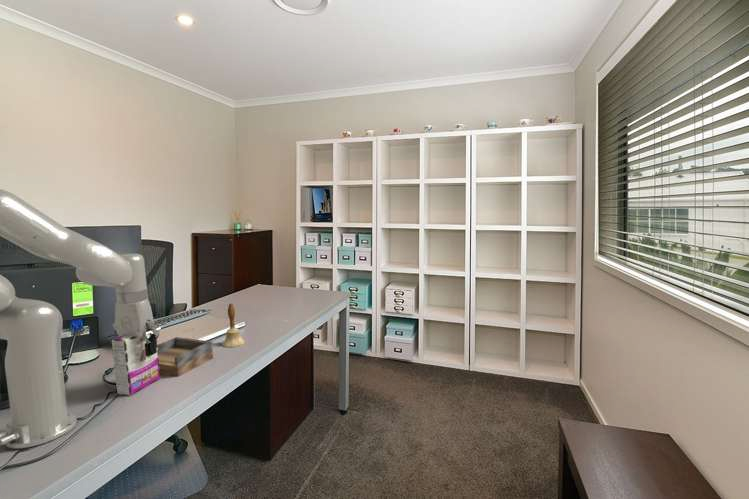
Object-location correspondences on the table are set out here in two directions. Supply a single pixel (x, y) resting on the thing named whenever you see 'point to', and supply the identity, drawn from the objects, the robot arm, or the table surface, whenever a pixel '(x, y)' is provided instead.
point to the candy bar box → (133, 364)
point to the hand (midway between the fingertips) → (138, 352)
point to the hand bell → (232, 331)
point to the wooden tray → (183, 355)
